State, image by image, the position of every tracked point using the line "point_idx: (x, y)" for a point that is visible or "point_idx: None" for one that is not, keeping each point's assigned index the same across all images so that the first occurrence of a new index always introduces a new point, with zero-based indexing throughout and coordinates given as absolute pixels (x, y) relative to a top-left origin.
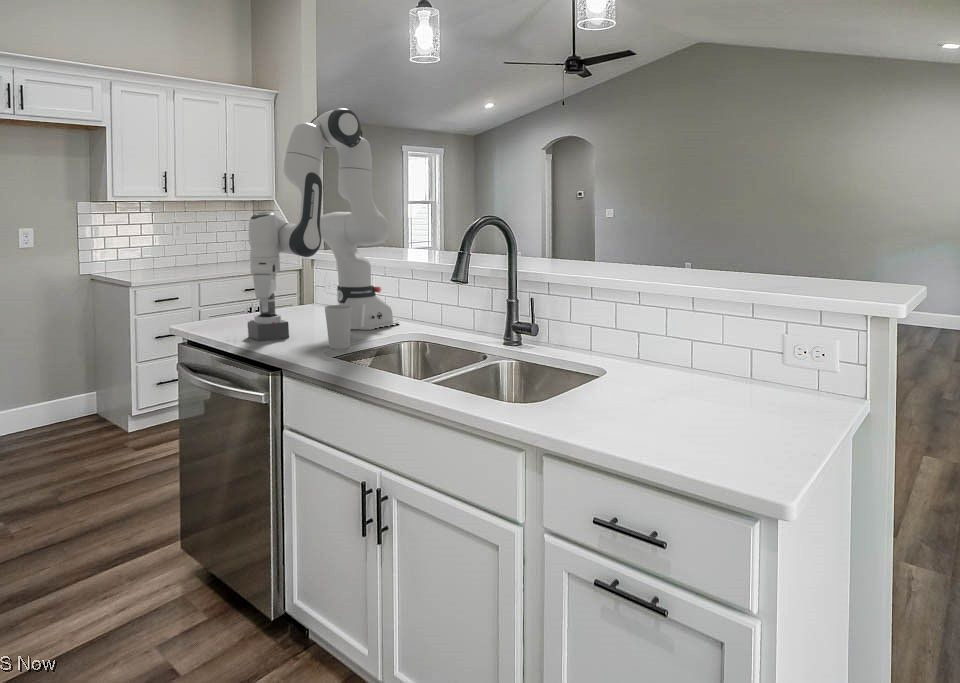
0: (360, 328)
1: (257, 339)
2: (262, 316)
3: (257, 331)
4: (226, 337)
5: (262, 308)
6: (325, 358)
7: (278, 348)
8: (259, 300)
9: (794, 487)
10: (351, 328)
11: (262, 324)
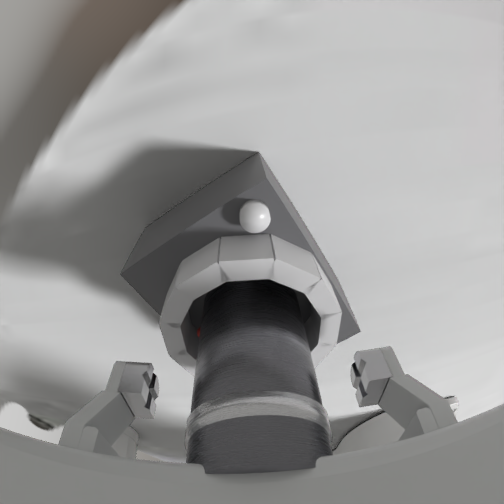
0: (336, 451)
1: (152, 224)
2: (208, 315)
3: (136, 249)
4: (259, 30)
5: (109, 381)
6: (6, 396)
7: (40, 318)
8: (220, 405)
9: None
10: (343, 440)
11: (147, 295)
